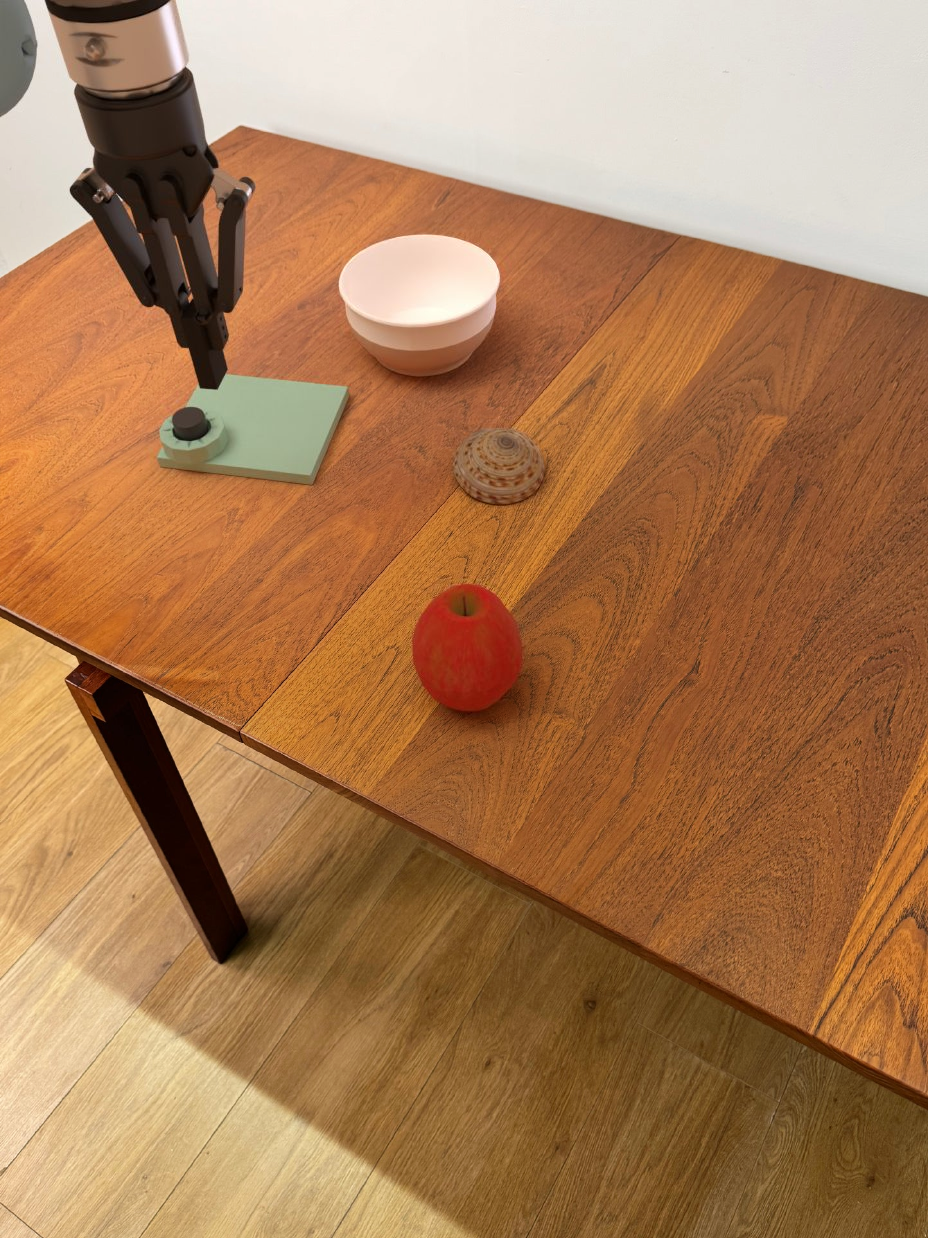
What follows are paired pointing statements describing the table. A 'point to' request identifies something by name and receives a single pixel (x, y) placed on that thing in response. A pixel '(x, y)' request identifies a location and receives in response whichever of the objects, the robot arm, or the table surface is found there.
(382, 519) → the table surface
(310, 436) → the scale
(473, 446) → the seashell
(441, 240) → the bowl
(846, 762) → the table surface
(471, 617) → the apple
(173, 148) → the robot arm
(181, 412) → the button
